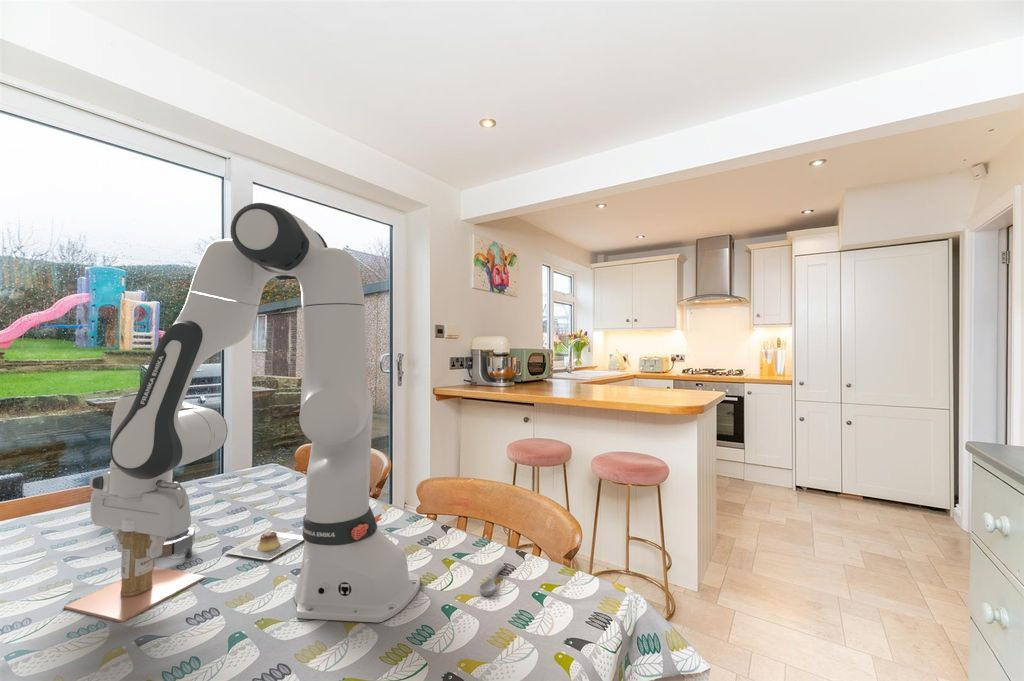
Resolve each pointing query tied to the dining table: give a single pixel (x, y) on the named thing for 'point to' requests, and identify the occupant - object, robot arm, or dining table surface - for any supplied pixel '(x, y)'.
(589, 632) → the dining table surface
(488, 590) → the spoon
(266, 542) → the dessert
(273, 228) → the robot arm
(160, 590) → the copper sheet
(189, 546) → the ring stand
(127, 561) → the sprinkles bottle
